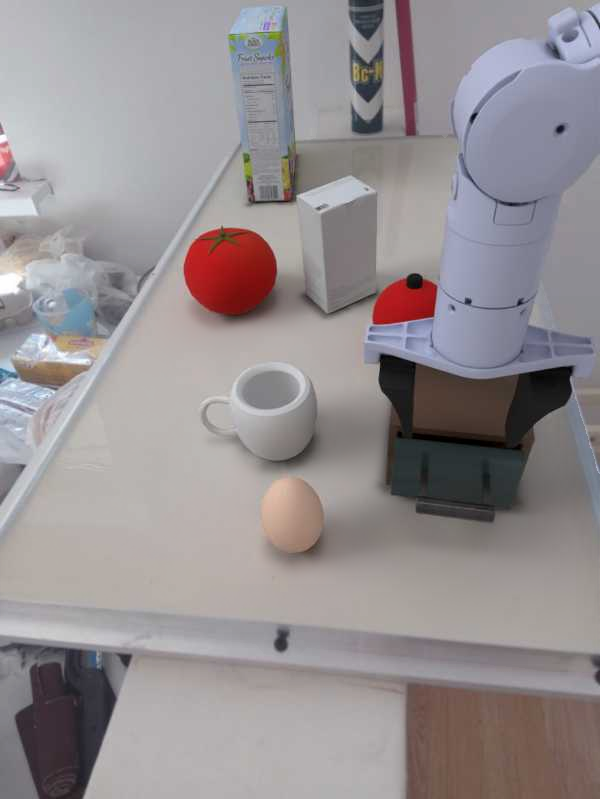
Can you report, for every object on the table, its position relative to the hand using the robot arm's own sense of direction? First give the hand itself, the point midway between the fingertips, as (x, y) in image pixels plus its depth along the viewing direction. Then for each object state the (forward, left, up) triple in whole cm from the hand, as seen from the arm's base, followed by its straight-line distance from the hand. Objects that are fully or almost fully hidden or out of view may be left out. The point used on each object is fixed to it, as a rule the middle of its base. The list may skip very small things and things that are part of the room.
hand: (458, 432), depth 42 cm
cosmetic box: (+15, -33, -11) cm, 37 cm away
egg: (+13, +5, -11) cm, 17 cm away
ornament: (+5, -23, -11) cm, 26 cm away
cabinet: (0, -9, -10) cm, 14 cm away
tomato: (+29, -30, -11) cm, 43 cm away
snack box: (+33, -71, -11) cm, 79 cm away
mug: (+19, -6, -11) cm, 22 cm away
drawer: (0, -4, -10) cm, 11 cm away
